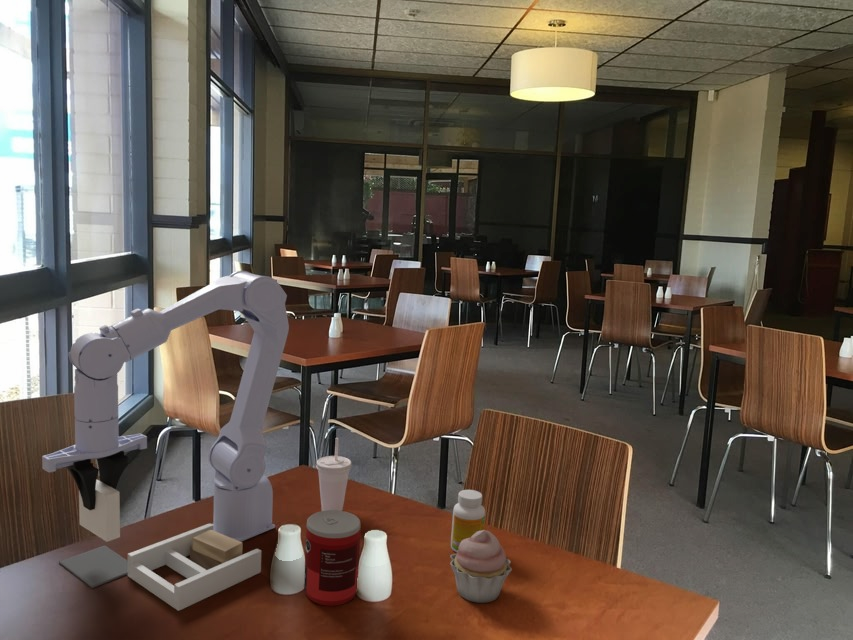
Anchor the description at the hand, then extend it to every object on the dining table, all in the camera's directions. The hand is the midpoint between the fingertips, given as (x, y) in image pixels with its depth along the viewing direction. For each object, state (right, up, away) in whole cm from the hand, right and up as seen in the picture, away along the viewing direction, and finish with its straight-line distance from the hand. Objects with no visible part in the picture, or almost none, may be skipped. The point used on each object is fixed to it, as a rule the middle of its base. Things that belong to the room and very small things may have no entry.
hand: (98, 505), depth 101 cm
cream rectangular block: (0, -4, 0) cm, 4 cm away
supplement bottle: (+55, -11, +14) cm, 58 cm away
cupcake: (+56, -14, +1) cm, 58 cm away
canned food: (+35, -13, -1) cm, 37 cm away
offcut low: (+16, -11, +4) cm, 20 cm away
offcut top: (+17, -8, +4) cm, 19 cm away
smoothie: (+31, -8, +25) cm, 41 cm away
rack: (+14, -11, +1) cm, 18 cm away
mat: (-1, -10, +1) cm, 10 cm away
